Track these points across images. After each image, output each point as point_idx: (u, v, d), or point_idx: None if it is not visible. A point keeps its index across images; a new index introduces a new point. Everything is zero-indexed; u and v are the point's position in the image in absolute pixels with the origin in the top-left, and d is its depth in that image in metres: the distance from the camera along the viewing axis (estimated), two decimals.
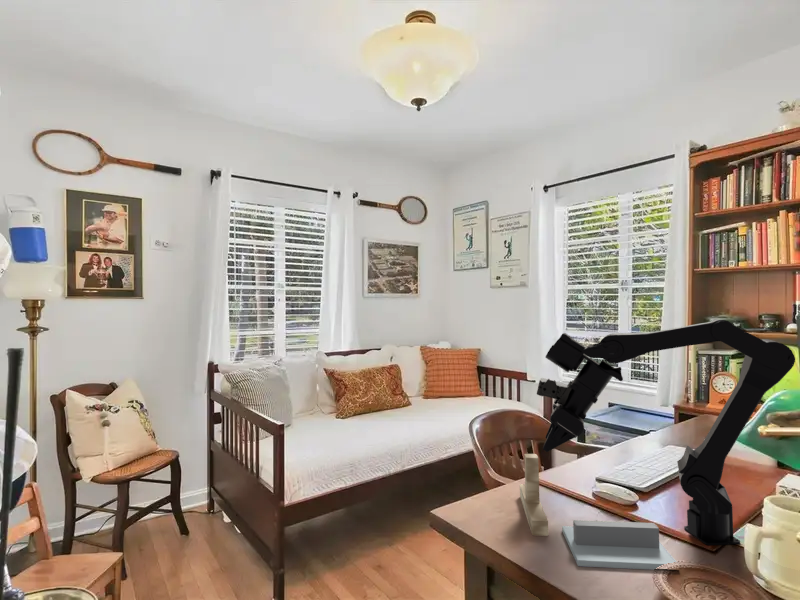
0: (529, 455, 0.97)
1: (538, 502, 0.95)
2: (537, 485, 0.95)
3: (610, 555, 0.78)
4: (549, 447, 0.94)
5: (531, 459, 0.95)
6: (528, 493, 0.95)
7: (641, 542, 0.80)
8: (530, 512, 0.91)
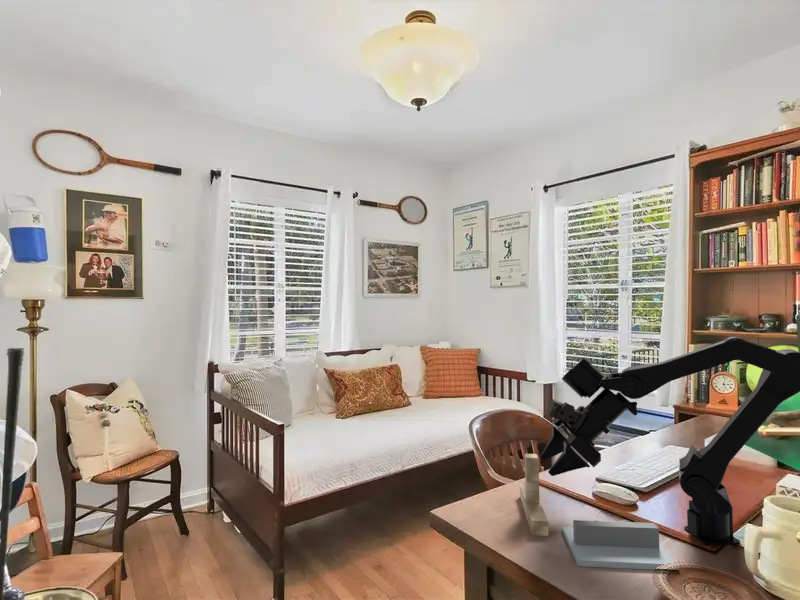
0: (529, 455, 0.97)
1: (538, 502, 0.95)
2: (537, 485, 0.95)
3: (610, 555, 0.78)
4: (555, 472, 0.91)
5: (531, 459, 0.95)
6: (528, 493, 0.95)
7: (641, 542, 0.80)
8: (530, 512, 0.91)
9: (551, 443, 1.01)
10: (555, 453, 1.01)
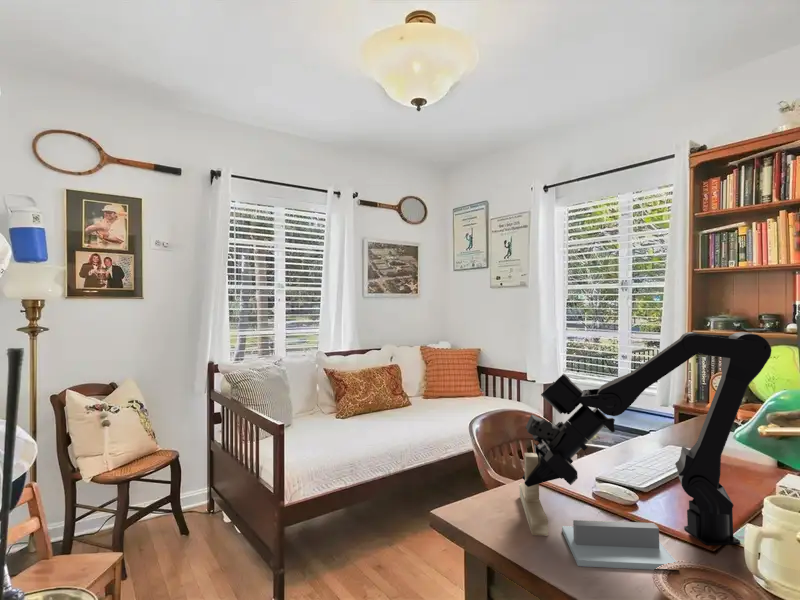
0: (529, 454, 0.97)
1: (538, 501, 0.95)
2: (537, 484, 0.95)
3: (610, 555, 0.78)
4: (531, 483, 0.95)
5: (531, 458, 0.95)
6: (528, 492, 0.95)
7: (641, 542, 0.80)
8: (530, 511, 0.91)
9: None
10: None
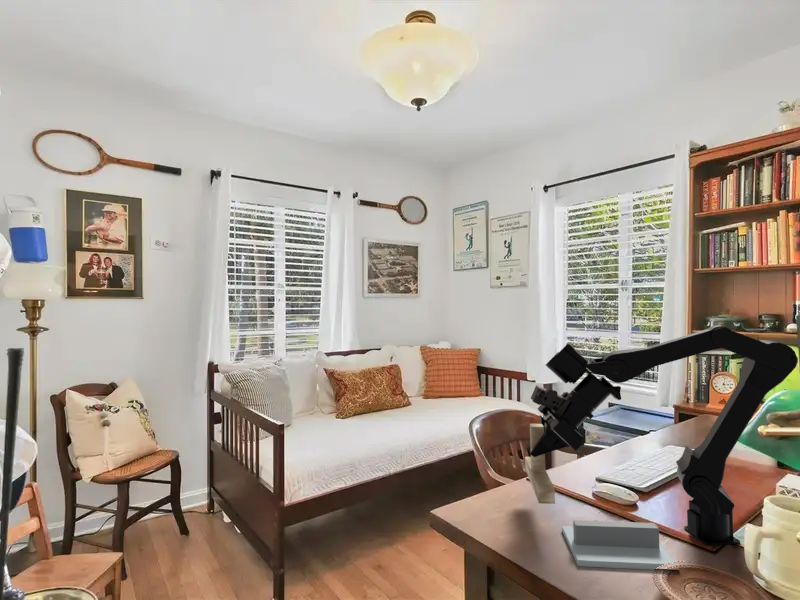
0: (534, 425, 0.96)
1: (544, 471, 0.94)
2: (543, 454, 0.94)
3: (610, 555, 0.78)
4: (537, 453, 0.94)
5: (537, 428, 0.94)
6: (534, 462, 0.94)
7: (641, 542, 0.80)
8: (536, 480, 0.90)
9: None
10: None
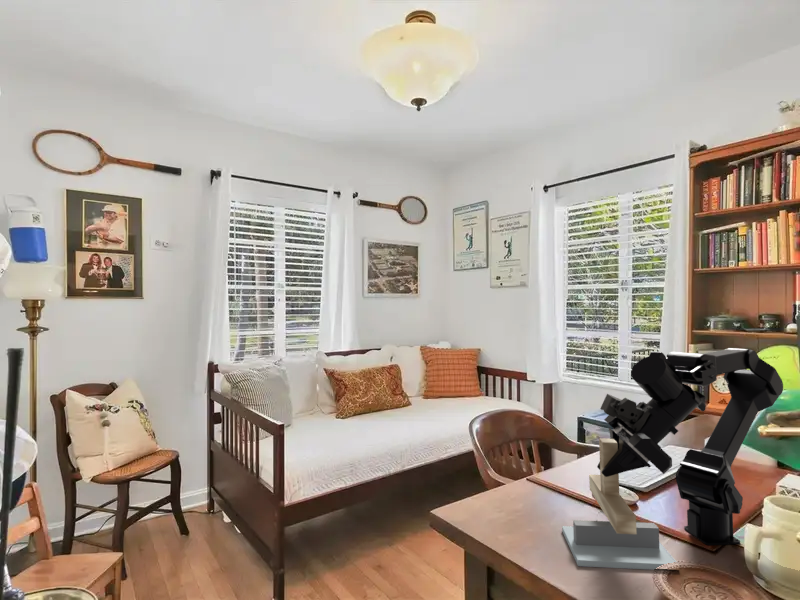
0: (606, 440, 0.83)
1: (618, 494, 0.82)
2: (616, 474, 0.82)
3: (610, 555, 0.78)
4: (610, 472, 0.81)
5: (609, 444, 0.82)
6: (606, 484, 0.82)
7: (641, 542, 0.80)
8: (611, 505, 0.78)
9: None
10: None
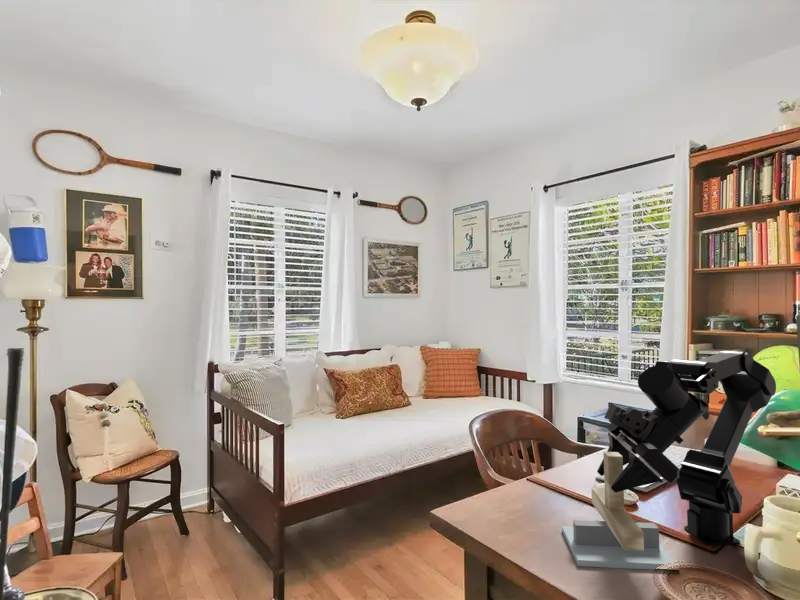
0: (611, 454, 0.82)
1: (623, 509, 0.81)
2: None
3: (610, 555, 0.78)
4: (619, 487, 0.78)
5: (614, 458, 0.81)
6: (611, 498, 0.81)
7: None
8: (617, 521, 0.77)
9: None
10: None
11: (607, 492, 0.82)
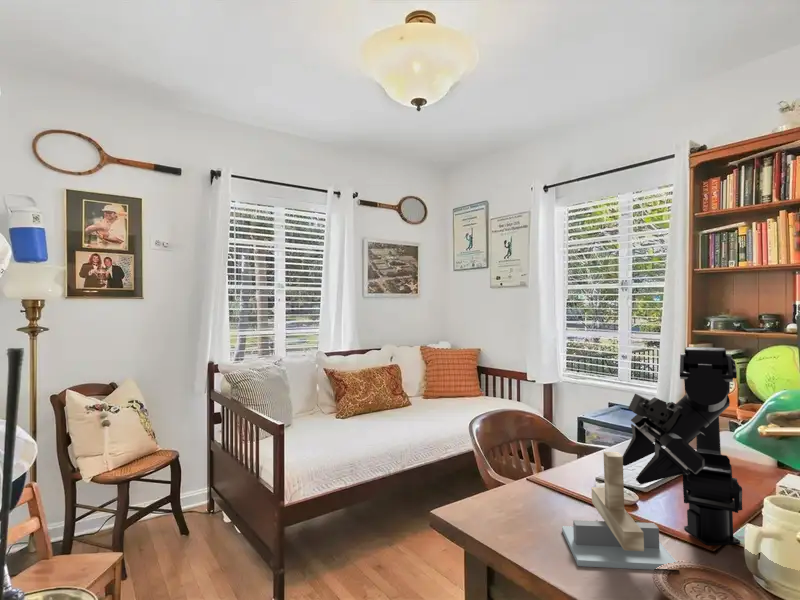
0: (611, 454, 0.82)
1: (623, 509, 0.81)
2: (621, 489, 0.81)
3: (610, 555, 0.78)
4: (645, 479, 0.77)
5: (614, 458, 0.81)
6: (611, 498, 0.81)
7: None
8: (618, 521, 0.77)
9: (633, 446, 0.87)
10: (638, 457, 0.86)
11: (607, 492, 0.82)
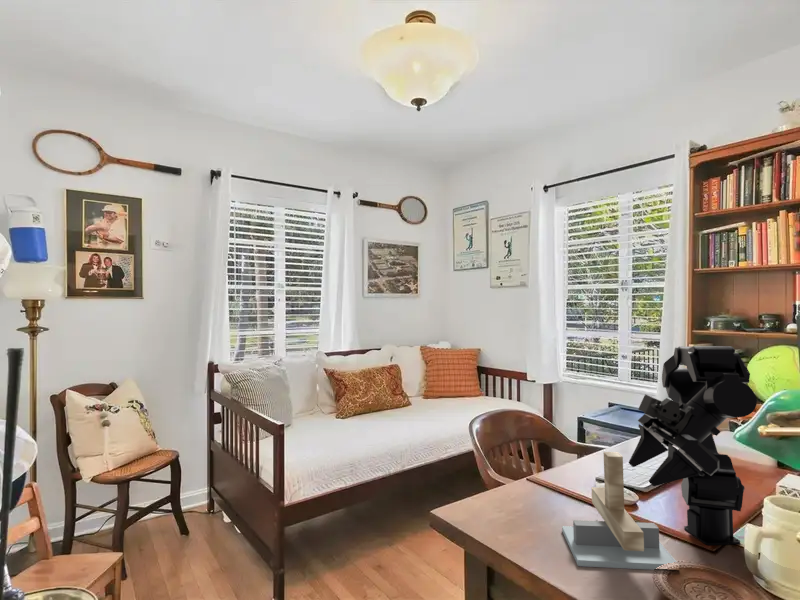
0: (611, 454, 0.82)
1: (623, 509, 0.81)
2: (621, 489, 0.81)
3: (610, 555, 0.78)
4: (658, 481, 0.77)
5: (614, 458, 0.81)
6: (611, 498, 0.81)
7: None
8: (618, 521, 0.77)
9: (641, 447, 0.86)
10: (646, 458, 0.86)
11: (607, 492, 0.82)
